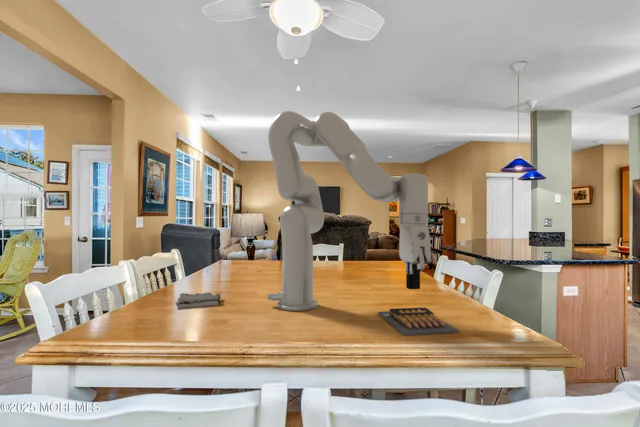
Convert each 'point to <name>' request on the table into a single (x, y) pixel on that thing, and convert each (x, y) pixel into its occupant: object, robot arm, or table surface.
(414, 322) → the ammunition clip
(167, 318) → the table surface
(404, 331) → the mat
